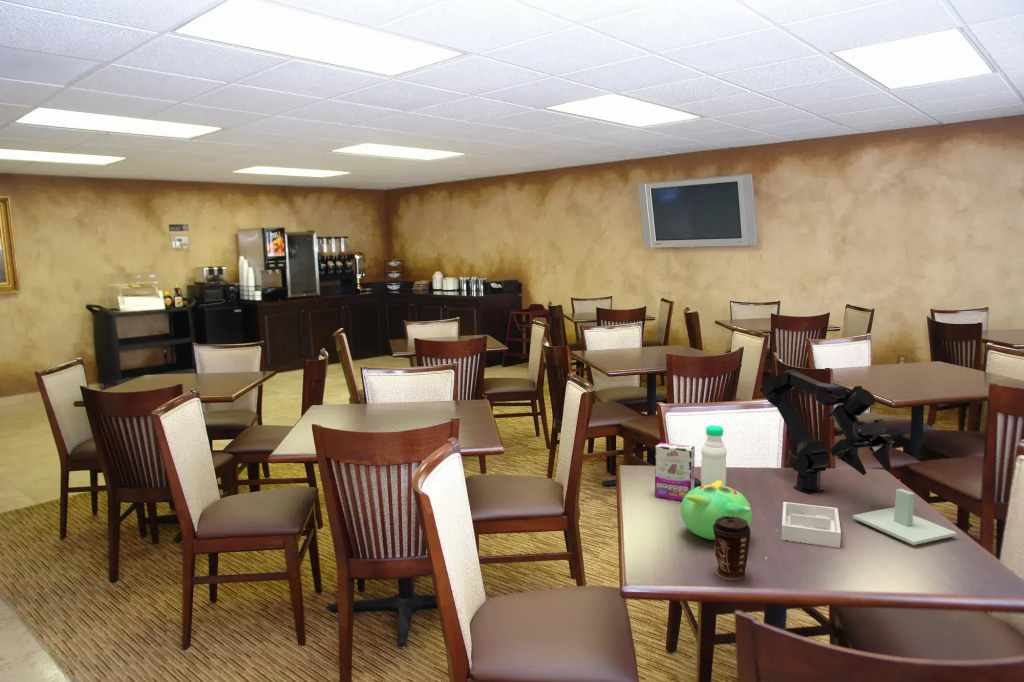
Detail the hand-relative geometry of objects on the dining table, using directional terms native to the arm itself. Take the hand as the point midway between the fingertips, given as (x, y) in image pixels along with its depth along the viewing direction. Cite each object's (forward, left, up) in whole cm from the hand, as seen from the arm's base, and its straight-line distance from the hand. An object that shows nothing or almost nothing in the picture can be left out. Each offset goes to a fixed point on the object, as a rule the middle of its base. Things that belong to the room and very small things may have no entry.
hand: (877, 472), depth 196 cm
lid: (0, +8, -13) cm, 15 cm away
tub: (+22, -2, -14) cm, 26 cm away
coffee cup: (+58, +9, -14) cm, 61 cm away
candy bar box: (+40, -38, -14) cm, 57 cm away
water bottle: (+36, -25, -14) cm, 46 cm away
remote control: (+26, -52, -14) cm, 60 cm away
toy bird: (+48, -9, -14) cm, 51 cm away
